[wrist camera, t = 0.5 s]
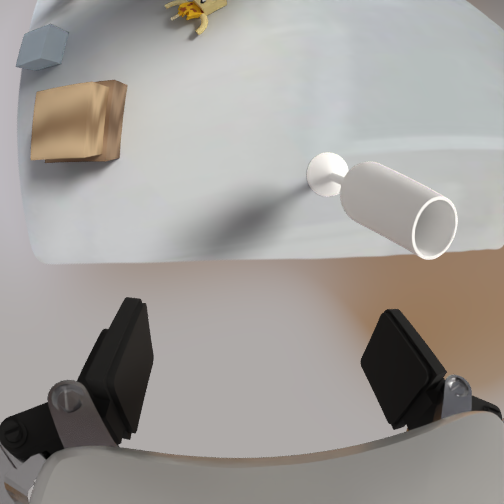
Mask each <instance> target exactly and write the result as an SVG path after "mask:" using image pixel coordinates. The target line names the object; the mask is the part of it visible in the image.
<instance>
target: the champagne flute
mask: <svg viewBox="0 0 504 504" xmlns="http://www.w3.org/2000/svg"><path fill="white" fill-rule="evenodd" d="M307 181H308V184H309V186H310V187H311V189H312V190H313V191H314V192H315V193H317V194H318V195H321V196H325V197H330V196H334V195H337V194H339V193H340V200H341V204H342V206H343V209H344V211H345V212H346V214H347V215H348V216H349V217H350V218H351V219H352V220H354V221H355V222H357V223H359V224H361V225H363V226H365V227H367V228H369V229H371V230H372V231H374V232H376V233H378V234H380V235H382V236H384V237H386V238H387V239H389V240H391V241H393V242H395V243H396V244H398V245H400V246H402V247H404V248H405V249H407V250H409V251H411V252H412V253H414V254H416V255H418V256H419V257H421V258H423V259H434V258H437V257H439V256H440V255H441V254H443V253H444V252H445V251H446V250H447V249H448V247H449V246H450V244H451V243H452V241H453V239H454V236H455V234H456V230H457V223H458V219H457V211H456V208H455V206H454V204H453V203H452V202H451V201H450V200H449V199H448V198H446V197H444V196H443V195H441V194H439V193H437V192H436V191H434V190H432V189H430V188H428V187H426V186H424V185H423V184H421V183H419V182H417V181H415V180H413V179H411V178H409V177H407V176H405V175H403V174H401V173H399V172H397V171H395V170H392V169H390V168H388V167H386V166H384V165H382V164H379V163H377V162H372V161H369V162H363V163H359V164H357V165H355V166H354V167H352V168H351V169H350V170H348V167H347V164H346V162H345V161H344V160H343V159H342V158H341V157H340V156H338V155H337V154H334V153H329V152H328V153H322V154H319V155H317V156H316V157H315V158H313V160H312V161H311V162H310V164H309V166H308V169H307Z"/></svg>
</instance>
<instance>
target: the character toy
mask: <svg viewBox="0 0 504 504" xmlns="http://www.w3.org/2000/svg"><path fill="white" fill-rule="evenodd" d="M193 1H194V2H189V1H186V0H176V1H172V2H170V3H167V4H166V5H164V6H165V7H166V8H167V9H168V8H170V7H172V6H175V5H180V6H179V8H178V11H179V12H178V14H177V15H175V16H173V17H172V18H171V20H174V19H176V18H177V17H179V16H181V15H182V18H183V16H185V15H187V18H186V20H189V19H192V18H198V17H200V19H201V25H200V27H199V28H198V29H197V30H196V32H197V34H198V35H200V34H201V33H202V32H204V30H205V29H206V27H207V24H208V19H207V15H209V14H211V13H212V12H214V11H216V10H218V9H220V8H222V7H224V6H226V5H227V1H226V0H193Z"/></svg>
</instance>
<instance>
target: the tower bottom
mask: <svg viewBox="0 0 504 504" xmlns="http://www.w3.org/2000/svg"><path fill="white" fill-rule="evenodd" d="M95 83H98V84H101V85H104V86H107V87H109V94H108V100H107V108H106V116H105V125H104V135H103V148H102V154H100V155H95V156H90V157H85V158H59V159H45V163H55V162H85V161H109V160H113V159H117V158H119V157H120V143H121V132H122V122H123V113H124V105H125V98H126V91H127V85H126V84H123V83H121V82H119V81H116V80H108V81H99V82H95Z"/></svg>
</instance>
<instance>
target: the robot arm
mask: <svg viewBox="0 0 504 504" xmlns="http://www.w3.org/2000/svg"><path fill="white" fill-rule="evenodd" d="M152 365H153V349H152V343H151V336H150V329H149V322H148V314H147V306H146V303H142V301H141V299H137V298H129V297H126V298H125V300H124V301H123V303H122V305H121V307H120V309H119V311H118V312H117V314H116V316H115V318H114V320H113V322H112V324H111V326H110V327H109V329H104V330H102V332H101V333H100V335H99V337H98V339H97V341H96V343H95V345H94V347H93V349H92V351H91V353H90V355H89V357H88V359H87V361H86V363H85V365H84V367H83V369H82V371H81V374H80V376H79V378H78V380H77V381H74V380H64V381H60V382H58V383H56V384H55V385H54V386H53V387H52V388H51V389H50V391H49V393H48V398H47V400H48V402H47V403H45V404H42V405H39V406H37V407H34V408H31V409H29V410H26V411H24V412H21V413H18V414H16V415H13V416H10V417H8V418H6V419H5V420H4V421H3V422H2V423H1V425H0V504H504V418H503V419H502V415H501V412H500V409H499V408H498V407H497V406H495V405H493V404H491V403H489V402H486V401H484V400H482V399H479V398H477V397H474V396H472V391H471V387H470V385H469V383H468V382H467V381H466V380H465V379H464V378H463V377H461V376H458V375H450V376H448V377H447V378H446V380H444V378H443V377H444V376H445V374H446V373H447V371H446V370H445V368H444V367H443V366H442V364H441V363H440V362H439V360H438V359H437V358H436V356H435V355H434V353H433V352H432V351H431V349H430V348H429V347H428V345H427V344H426V343H425V341H424V340H423V339H422V338H421V336H420V335H419V334H418V332H416V330H415V329H414V327H413V326H412V325H411V323H410V322H409V321H408V320H407V319H406V317H405V316H404V315H403V314H402V313H401V311H400V310H399V309H387V310H385V311H384V313H382V314H381V316H380V318H379V321H378V323H377V325H376V328H375V330H374V332H373V334H372V337H371V339H370V341H369V343H368V345H367V347H366V350H365V352H364V354H363V356H362V358H361V367H362V369H363V371H364V373H365V375H366V377H367V379H368V381H369V383H370V385H371V387H372V389H373V391H374V393H375V395H376V397H377V400H378V402H379V404H380V406H381V408H382V410H383V413H384V415H385V417H386V419H387V421H388V423H389V424H391V425H392V427H393V429H394V430H395V429H398V428H401V427H404V426H405V425H407V427H408V428H407V431H406V432H404V433H401V434H397V435H394V436H391V437H387V438H384V439H380V440H376V441H372V442H368V443H364V444H360V445H355V446H350V447H346V448H341V449H335V450H329V451H323V452H316V453H309V454H301V455H291V456H278V457H263V458H262V457H261V458H216V457H197V456H184V455H174V454H166V453H158V452H151V451H143V450H136V449H129V448H120V447H119V446H118V444H120V443H121V441H122V438H124V439H129V440H130V438H131V433H136V431H137V428H138V423H139V419H140V414H141V410H142V405H143V401H144V397H145V392H146V389H147V385H148V380H149V377H150V373H151V369H152ZM35 479H36V482H34V480H35ZM33 485H34V487H33V490H32V494H31V497H30V502H29V501H28V497H27V496H28V491H29V489H30V488H31V487H32V486H33Z"/></svg>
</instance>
